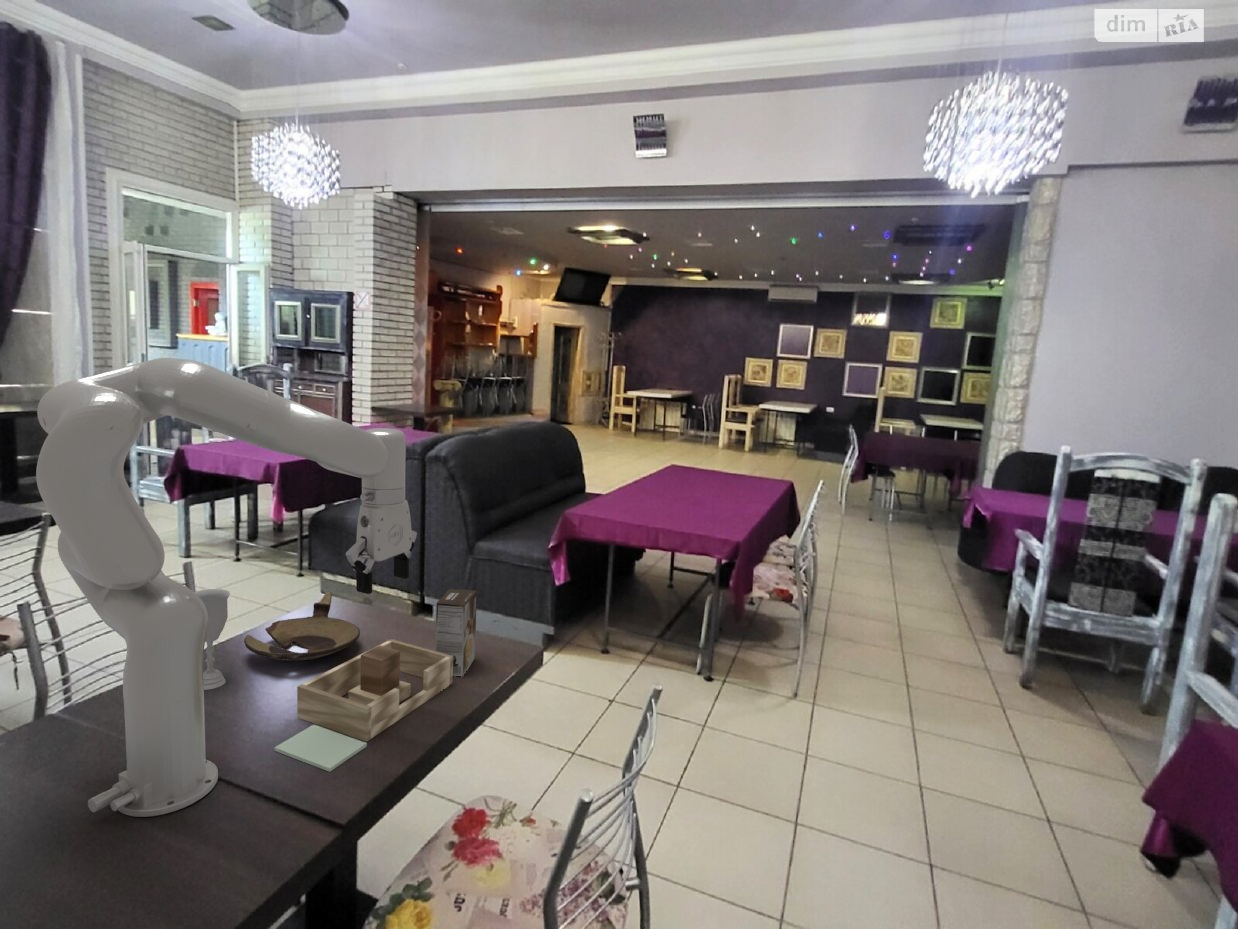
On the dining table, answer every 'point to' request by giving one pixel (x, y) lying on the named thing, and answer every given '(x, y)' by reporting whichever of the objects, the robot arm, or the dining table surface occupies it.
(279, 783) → the dining table surface
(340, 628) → the broken brown bowl
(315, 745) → the mat
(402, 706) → the crate
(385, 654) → the block
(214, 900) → the dining table surface
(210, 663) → the chalice
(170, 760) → the robot arm
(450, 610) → the coffee box
